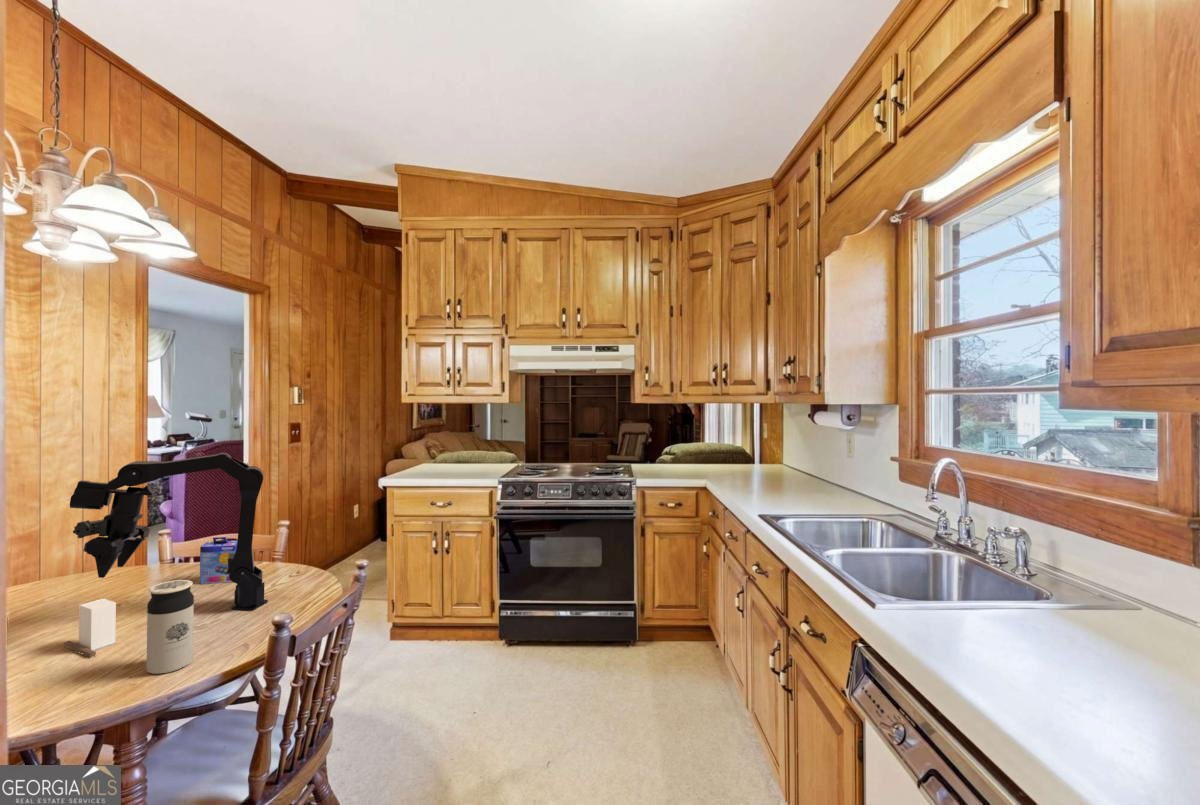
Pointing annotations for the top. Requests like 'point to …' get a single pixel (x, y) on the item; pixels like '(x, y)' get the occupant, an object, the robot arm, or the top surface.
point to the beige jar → (170, 626)
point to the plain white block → (97, 624)
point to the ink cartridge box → (215, 560)
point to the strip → (79, 648)
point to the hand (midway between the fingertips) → (111, 572)
